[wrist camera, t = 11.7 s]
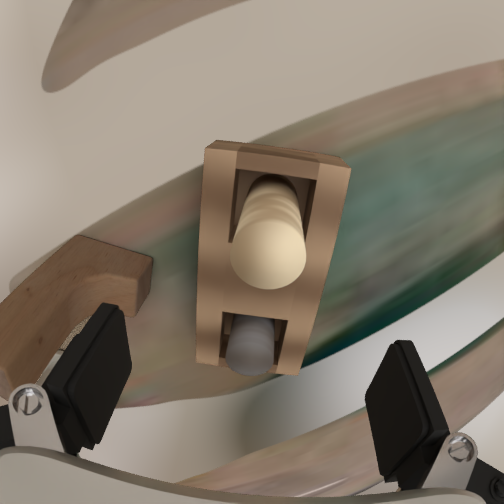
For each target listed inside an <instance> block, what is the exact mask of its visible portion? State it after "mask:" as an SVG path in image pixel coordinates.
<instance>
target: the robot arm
mask: <svg viewBox="0 0 504 504" xmlns="http://www.w3.org/2000/svg"><path fill="white" fill-rule="evenodd" d="M131 369H132V362H131V356H130V351H129V345H128V338H127V332H126V325H125V318H124V312H123V311H122V310H120V309H119V306H118V305H114V304H109V303H105V302H103V303H101V304H100V306H99V307H98V308H97V310H96V311H95V313H94V314H93V315H92V317H91V318H90V319H89V321H88V322H87V324H86V325H85V327H84V328H83V329H82V331H81V332H80V334H77V335H76V336H75V337H74V338H73V339H72V341H71V342H70V343H69V345H68V346H67V348H66V349H65V351H61V350H58V351H57V352H56V354H55V355H54V357H53V358H52V359H51V361H50V362H49V364H48V365H47V367H46V368H45V370H44V371H43V373H42V376H41V377H40V378H39V380H38V381H37V383H36V384H24V385H21V386H19V387H17V388H16V389H15V390H14V391H13V392H12V393H11V395H10V397H9V404H7V405H4V406H0V504H504V473H502V472H500V471H498V470H497V469H495V468H493V467H492V466H490V465H488V464H486V463H485V462H483V461H482V460H480V459H478V458H477V455H478V450H477V446H476V444H475V442H474V440H473V439H472V438H471V437H470V436H468V435H466V434H464V433H459V432H455V433H452V434H450V432H449V428H448V425H447V422H446V420H445V417H444V415H443V412H442V409H441V407H440V404H439V402H438V399H437V397H436V394H435V392H434V389H433V387H432V385H431V382H430V380H429V378H428V375H427V373H426V371H425V368H424V366H423V364H422V362H421V359H420V357H419V355H418V353H417V351H416V348H415V346H414V344H413V342H412V341H410V340H396V341H395V342H394V344H391V345H390V346H389V348H388V350H387V352H386V354H385V356H384V358H383V360H382V362H381V364H380V366H379V368H378V370H377V372H376V374H375V376H374V378H373V380H372V382H371V384H370V386H369V388H368V389H367V391H366V394H365V403H366V408H367V412H368V417H369V421H370V426H371V431H372V436H373V441H374V446H375V451H376V456H377V461H378V467H379V472H380V474H381V475H382V476H384V480H385V483H387V482H395V481H398V486H399V488H398V489H397V491H396V492H390V493H381V494H369V495H358V496H342V497H275V496H259V495H247V494H237V493H228V492H221V491H213V490H207V489H200V488H194V487H189V486H183V485H178V484H173V483H168V482H164V481H159V480H155V479H151V478H147V477H143V476H139V475H135V474H131V473H128V472H124V471H121V470H117V469H113V468H110V467H107V466H104V465H101V464H97V463H94V462H91V461H88V460H86V459H82V458H80V456H79V454H78V453H79V452H80V450H81V448H82V447H85V448H87V449H90V450H93V448H94V445H95V444H99V443H100V442H101V440H102V437H103V435H104V432H105V430H106V428H107V425H108V423H109V421H110V418H111V416H112V414H113V411H114V409H115V407H116V404H117V402H118V400H119V397H120V395H121V393H122V391H123V388H124V386H125V384H126V382H127V380H128V377H129V375H130V373H131Z"/></svg>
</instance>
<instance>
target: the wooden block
mask: <svg viewBox="0 0 504 504" xmlns="http://www.w3.org/2000/svg"><path fill="white" fill-rule="evenodd" d="M152 266H153V259H152V258H151V257H149V256H146V255H142V254H139V253H136V252H132V251H129V250H126V249H123V248H119V247H116V246H113V245H110V244H106V243H103V242H100V241H97V240H94V239H90V238H87V237H84V236H81V235H76V236H74V237H73V238H72V239H71V240H70V241H68V242H67V243H66V244H65V245H64V246H62V247H61V248H60V249H59V250H58V251H57V252H55V253H54V254H53V255H52V256H51V257H50V258H49V259H47V260H46V261H45V262H44V263H43V264H42V265H41V266H40V267H38V268H37V269H36V270H35V271H34V272H33V273H32V274H31V275H30V276H29V277H27V278H26V279H25V280H24V281H23V282H22V283H21V284H20V285H19V286H18V287H17V288H16V289H15V290H14V291H13V292H12V293H11V294H10V295H9V296H8V297H7V298H6V299H4V300H3V302H1V303H0V396H1V397H2V398H4V399H5V400H7V401H9V397H10V395H11V393H12V392H13V391H14V390H15V389H16V388H17V387H19V386H21V385H24V384H35V383H36V382H37V380H38V379H39V377H40V376H41V374H42V373H43V371H44V370H45V368H46V367H47V365H48V364H49V362H50V361H51V359H52V358H53V357H54V355H55V354H56V352H57V351H58V349H59V348H60V347H61V345H62V344H63V342H64V341H65V340H66V338H67V337H68V335H69V334H70V333H71V331H72V330H73V328H74V327H75V326H76V325H78V324H79V323H80V322H81V321H83V320H84V319H85V318H87V317H88V316H91V315H93V314H94V313H95V311H96V310H97V308H98V307H99V306H100V304H101V303H103V302H105V303H109V304H114V305H118V306H119V309H120V310H122V311H123V312H124V316H128V317H135V316H136V314H137V313H138V311H139V309H140V307H141V306H142V304H143V302H144V301H145V299H146V297H147V295H148V294H149V291H150V282H151V274H152Z"/></svg>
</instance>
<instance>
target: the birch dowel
mask: <svg viewBox="0 0 504 504" xmlns="http://www.w3.org/2000/svg"><path fill="white" fill-rule="evenodd" d="M230 260H231V264H232V267H233V269H234V271H235V273H236V274H237V275H238V276H239V278H241V279H242V280H243V281H244V282H246V283H247V284H249V285H251V286H253V287H256V288H260V289H278V288H282V287H284V286H287V285H289V284H290V283H292V282H293V281H295V280H296V279H297V278H298V277H299V275H300V274H301V273H302V271H303V269H304V267H305V263H306V249H305V242H304V235H303V229H302V222H301V216H300V209H299V203H298V197H297V192H296V189H295V187H294V185H293V184H292V182H291V181H290V180H289V179H287V178H286V177H284V176H282V175H279V174H265V175H262V176H260V177H258V178H257V179H256V180H255V181H254V182H253V183H252V184H251V186H250V188H249V190H248V193H247V197H246V200H245V203H244V206H243V210H242V213H241V216H240V220H239V223H238V226H237V229H236V233H235V236H234V239H233V243H232V246H231V250H230Z"/></svg>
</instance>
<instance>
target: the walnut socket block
mask: <svg viewBox="0 0 504 504" xmlns="http://www.w3.org/2000/svg"><path fill="white" fill-rule="evenodd" d="M350 173H351V168H350V167H349V166H348V165H347V164H346V163H345V162H344V161H343V160H342V159H341V158H340V157H336V156H330V155H325V154H319V153H313V152H307V151H301V150H294V149H288V148H281V147H274V146H266V145H258V144H250V143H241V142H232V141H222V140H216V141H214V142H213V143H212V144H210V145H209V146H207V147H206V148H205V154H204V167H203V181H202V196H201V212H200V230H199V251H198V277H197V313H196V362H198V363H204V364H210V365H216V366H223V367H230V368H231V369H232V370H233V371H235V372H237V373H239V374H242V375H248V376H255V375H260V374H263V373H265V372H268V373H277V374H287V375H298V374H299V370H300V367H301V364H302V361H303V358H304V355H305V351H306V348H307V345H308V341H309V338H310V335H311V331H312V328H313V324H314V321H315V317H316V314H317V310H318V307H319V303H320V300H321V296H322V292H323V288H324V285H325V281H326V277H327V273H328V269H329V265H330V261H331V257H332V253H333V249H334V245H335V241H336V237H337V233H338V228H339V224H340V220H341V215H342V211H343V206H344V202H345V197H346V192H347V187H348V183H349V178H350ZM265 174H279V175H282V176H284V177H286V178H287V179H289V180H290V181H291V182H292V184H293V185H294V187H295V189H296V192H297V197H298V203H299V209H300V216H301V222H302V229H303V235H304V242H305V249H306V263H305V267H304V269H303V271H302V273H301V274H300V275H299V277H298V278H297V279H296V280H295V281H293V282H292V283H290V284H289V285H287V286H284V287H282V288H278V289H260V288H256V287H253V286H251V285H249V284H247V283H246V282H244V281H243V280H242V279H241V278H239V276H238V275H237V274H236V273H235V271H234V269H233V267H232V264H231V260H230V250H231V246H232V243H233V239H234V236H235V233H236V229H237V226H238V223H239V220H240V216H241V213H242V210H243V206H244V203H245V200H246V197H247V193H248V190H249V188H250V186H251V184H252V183H253V182H254V181H255V180H256V179H257V178H258V177H260V176H262V175H265Z"/></svg>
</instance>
